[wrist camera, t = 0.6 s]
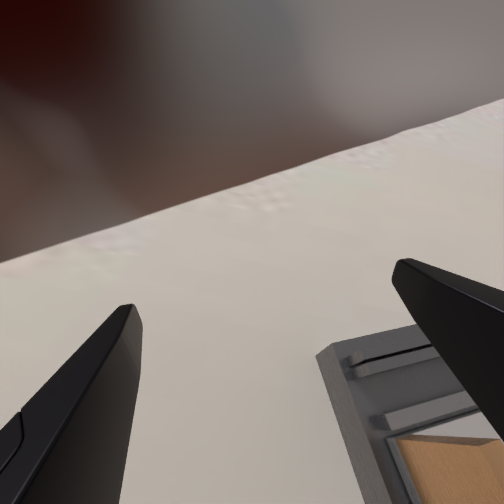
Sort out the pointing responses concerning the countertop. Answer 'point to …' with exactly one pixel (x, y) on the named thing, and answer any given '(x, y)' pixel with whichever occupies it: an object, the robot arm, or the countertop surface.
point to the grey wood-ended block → (452, 461)
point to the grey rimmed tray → (387, 401)
